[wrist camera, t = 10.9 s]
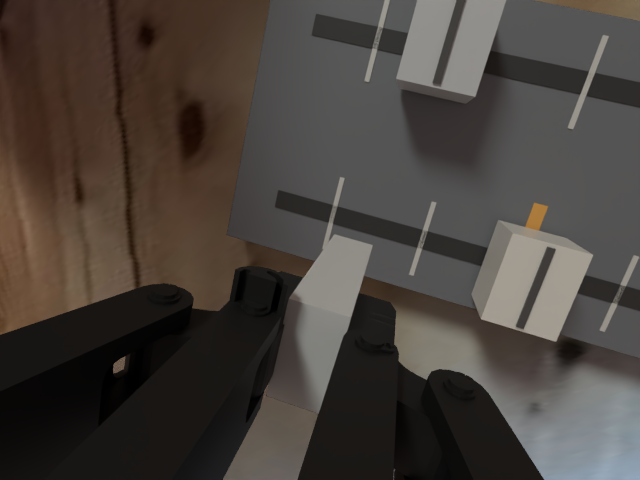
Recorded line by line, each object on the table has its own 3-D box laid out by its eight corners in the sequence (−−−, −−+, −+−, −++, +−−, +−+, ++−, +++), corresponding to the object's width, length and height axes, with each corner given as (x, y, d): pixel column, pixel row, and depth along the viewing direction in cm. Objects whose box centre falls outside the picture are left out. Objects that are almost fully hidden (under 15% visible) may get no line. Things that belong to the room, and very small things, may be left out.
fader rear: (471, 294, 27) (481, 319, 23) (498, 219, 26) (513, 233, 22) (535, 313, 27) (556, 342, 23) (566, 237, 25) (594, 255, 22)
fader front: (398, 88, 26) (395, 78, 22) (423, -3, 24) (425, -32, 20) (465, 103, 25) (475, 96, 21) (494, 11, 24) (511, -15, 20)
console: (241, 233, 33) (224, 241, 30) (293, -30, 29) (279, -50, 26) (651, 354, 29) (678, 378, 26) (794, 70, 24) (846, 60, 21)
